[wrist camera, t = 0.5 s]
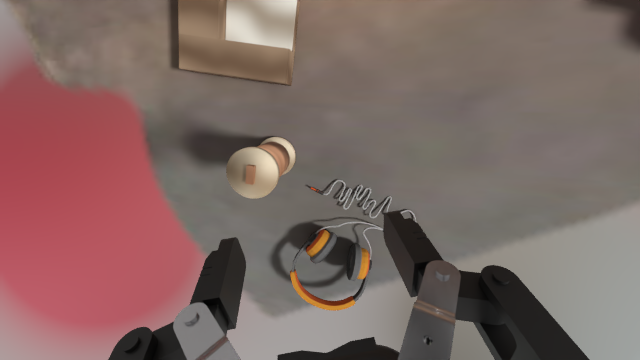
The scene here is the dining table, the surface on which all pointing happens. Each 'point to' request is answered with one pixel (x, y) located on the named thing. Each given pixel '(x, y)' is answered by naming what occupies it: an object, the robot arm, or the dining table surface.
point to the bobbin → (260, 167)
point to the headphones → (356, 261)
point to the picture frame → (239, 38)
